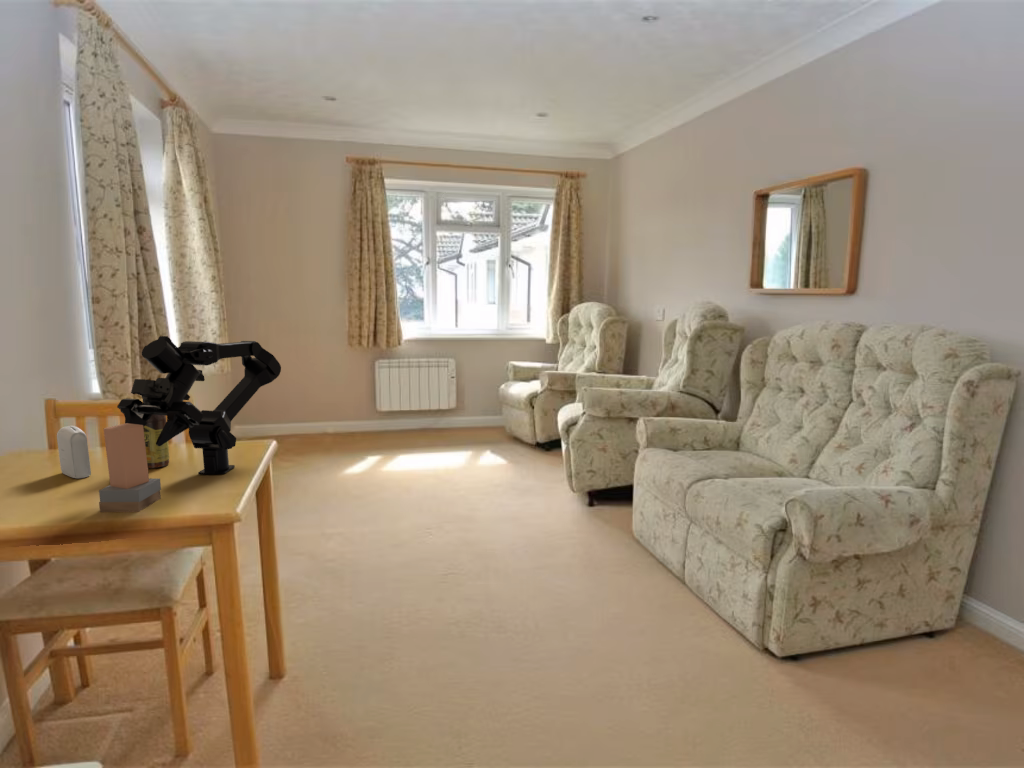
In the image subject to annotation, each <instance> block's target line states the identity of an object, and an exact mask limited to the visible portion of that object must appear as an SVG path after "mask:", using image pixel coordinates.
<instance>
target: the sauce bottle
mask: <svg viewBox="0 0 1024 768" xmlns="http://www.w3.org/2000/svg"><path fill="white" fill-rule="evenodd" d="M141 398H142V402H143V403H144V404H145V405H149V404H150V403H149V402H146V401H145V400H144V396H141ZM146 422H147V424H146V425H145V426H144V427H143V429H144V438H145V447H146V456H147V466H148V469H157V468H159V469H160V468H163V467H166V466H168V465H169V463H170V446H169V444H170V443H169V441H167V442H166V443H164V444H163V445H161V446H158V445H156V442H157V439H158V437H159V435H160V433H161V431H162V429H163V428H164V426H165V424H166V422H167V416H165V415H152V416H151V417H150V419H148V420H147V421H146Z"/></svg>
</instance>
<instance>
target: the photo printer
mask: <svg viewBox="0 0 1024 768" xmlns="http://www.w3.org/2000/svg"><path fill="white" fill-rule="evenodd" d="M56 440H57V441H56V442H57V448H58V459H59V464H60V470H61V473H62V474H63V475H65V476H67V477H70V478H72V479H84V478H89V476H91V475H92V470H91V469H92V468H91V461H90V452H89V451H90V450H89V445H88V437H87V434H86V433H85V431H84V430H82V429H81V428H80V427H78V426H76V425H68V426H67V425H65V426H63V427H61V428H59V429H58V431H57V434H56Z"/></svg>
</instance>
